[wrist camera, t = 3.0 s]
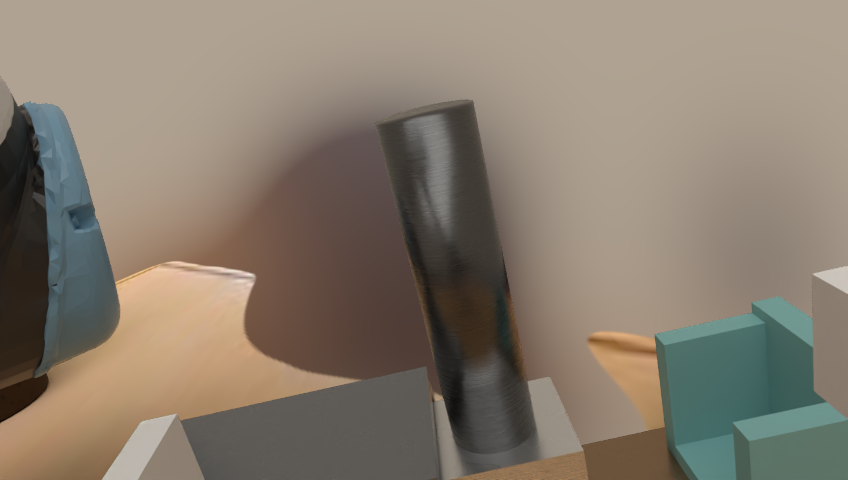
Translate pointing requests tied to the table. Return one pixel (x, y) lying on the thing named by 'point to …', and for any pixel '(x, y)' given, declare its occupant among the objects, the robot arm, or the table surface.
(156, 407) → the table surface
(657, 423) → the table surface
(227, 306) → the table surface
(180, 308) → the table surface
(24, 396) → the olive oil
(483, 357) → the metal plate with post
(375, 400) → the base plate with blocks
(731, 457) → the teal bracket
